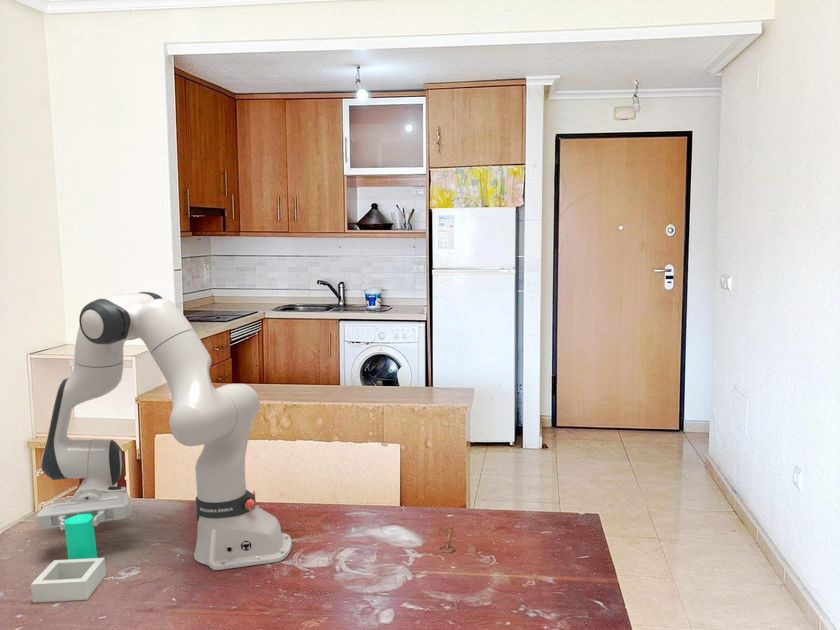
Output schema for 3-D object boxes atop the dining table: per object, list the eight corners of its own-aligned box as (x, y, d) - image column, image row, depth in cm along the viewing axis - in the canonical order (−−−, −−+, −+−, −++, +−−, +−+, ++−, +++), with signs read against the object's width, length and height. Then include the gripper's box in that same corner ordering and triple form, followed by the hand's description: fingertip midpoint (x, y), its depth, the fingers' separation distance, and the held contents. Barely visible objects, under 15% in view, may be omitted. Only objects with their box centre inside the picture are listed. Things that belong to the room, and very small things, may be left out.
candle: (69, 571, 165) (64, 519, 164) (68, 560, 170) (62, 510, 169) (98, 564, 168) (93, 513, 166) (96, 554, 173) (91, 505, 172)
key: (436, 529, 186) (429, 555, 171) (436, 525, 186) (429, 551, 171) (459, 527, 185) (454, 553, 170) (459, 524, 185) (454, 550, 170)
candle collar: (106, 574, 164) (104, 557, 164) (87, 599, 153) (85, 581, 153) (55, 577, 164) (53, 560, 163) (32, 602, 153) (30, 584, 152)
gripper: (42, 496, 178) (26, 518, 164) (133, 485, 182) (124, 506, 169) (45, 521, 179) (29, 545, 165) (135, 510, 183) (126, 532, 170)
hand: (78, 525), depth 167 cm, fingers closed on candle, 5 cm apart
